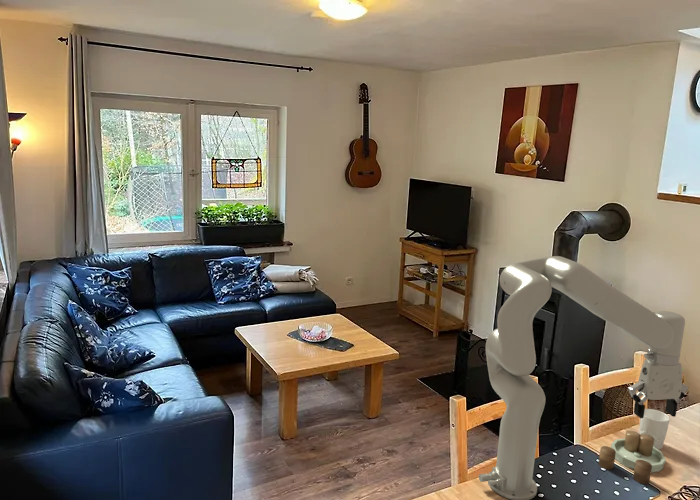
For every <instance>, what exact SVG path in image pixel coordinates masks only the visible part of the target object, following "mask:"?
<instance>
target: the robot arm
mask: <svg viewBox="0 0 700 500" xmlns="http://www.w3.org/2000/svg"><path fill="white" fill-rule="evenodd" d="M499 286H500V288H502V290H503V291H504V293H506V294H507V295H509V296H508V297H507V299H506V300H505V301H504V302H503V305H502V306H501V307H500V309H499V311H498V313H497V319H496V322H497V325H496V326H497V328H495V329H494V330H492V331H491V332H490V334H489V335H488V336H487V338H486V342H485V356H486V364H487V371H488V378H489V382H490V385H491V387H492V389H493V390H494V392H495V393H496V394H497V395H498V396H499V398H500V399H501V400H502V401H503V402H504V403H505V405H506V407H505V408H506V409H505V411H504V413H503V414H502V416H501V420H500V426H499V435H498V436H499V437H498V443H497V444H498V446H497V453H496V463H495V466H493V467H492V468H491V469H492V470H491V471H489V472H488V473H479V475H478V480H479V482H480V483H484V482H487V484H488V486H489V487H490V488H491V489H492V491H494V492H495V493H496V494H498V495H500V496H501V497H503V498H505V499H509V500H532V499H533V498H535V496H537V493H538V485H537V483H536V481H535V480H534V479H533V477H534V475H533V474H534V469H535V468H534V467H535V459H536V452H537V443H538V442H537V441H538V432H539V427H540V422H541V417H542V415H543V412H544V409H545V405H546V395H545V392H544V389H543V388H542V387H541V385H540V384H539V383H538V382H537V381H536V380H534V378H532V377H531V376H530V374H531V373H532V372H533V371H534V370H535V367H536V364H537V357H536V356H537V355H536V350H535V349H536V348H535V340H534V339H535V338H534V331H533V328H534V327H533V321H534V319H535V316H536V314H538V312H539V310H541V309H542V308H543V307H544V306H545V304H546V303H547V302H548V301H549V300H550V298H551V295H552V292H553V291H552V288H553V289H556V290H557V291H559V292H561V293H562V294H564V295H565V296H567V297H568V298H570V299H571V300H573V301H574V302H576V303H577V304H579V305H581V306H582V307H583V308H585V309H587V310H588V311H589V312H591V313H592V314H593V315H595V316H597V317H599V318H600V319H602V320H603V321H605V322H607V323H609V324H612V325H614V326H617V327H619V329H620V330H621V332H622V333H623V334H624V335H626V336H627V337H629V338H631V339H633V340H635V341H637V342H639V343H641V344H643V345H645V346H646V347H648V348H647V352H646V353H644V355H643V357H644V358H645V359H644V361H643V362H642V363H643V364H642V366H641V369H640V373H639V377H638V382H636V383H634V384H632V385H630V386H629V387H627V390H628V392H629V396H630V398H632V400H633V401H634V407H633V413H634V415H635V416H637V417H638V418H639V419H640V418H643V417H644V411H645V409H646V405H645V404H644V403H646V402H647V401H648V400H649V401H650V400H651V401H657V400H659V401H663V400H665V401H666V405H665V412H666V413H667V415H670V416H671V417H673V418H675V417H676V416H677V409H678V404H680V403H681V400H682V399H683V398H684V397H685V395H686V393H687V392H688V390H689V386H688V385H687V384H684V383H683V369H682V363H680V356H681V352H682V351H681V350H682V345H683V338H684V332H685V331H684V330H685V325H686V320H685V317H684V316H683V315H681V314H680V313H678V312H674V311H667V310H660V311H652V310H650V309H649V308H647V307H645V306H643V304H640V303H639V302H638V301H636V300H634V299H633V298H631V297H630V296H629V295H627V294H625V293H623V291H621V290H619V289H618V288H616V287H614V286H613V285H612V284H610V283H609V282H607V281H605V279H602V278H601V277H600V276H598V275H597V274H596V273H594V272H593V271H592V270H590V269H589V268H587V267H586V266H585V265H583V264H581V263H579V262H576V261H574V260H572V259H569V258H566V257H564V256H559V255H554V256H553V255H552V256H545V257H540V258H536V259H530V260H525V261H520V262H515V263H512V264H509V265H508V266H507V267H504V269H502V272H501V273H500V275H499Z"/></svg>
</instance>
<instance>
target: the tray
mask: <svg viewBox="0 0 700 500" xmlns="http://www.w3.org/2000/svg"><path fill="white" fill-rule="evenodd" d="M653 444H654V438H653V437H651V436H649V435H646V434H639V432H637V431H634V430H626V431H625V436H624V438H617V439H614V441H612V442H611V444H610V447H611V448H613V449H614V450H615V451H616V454H615V461H617V462H618V463H620V464H621V465H622V466H625V467H626V468H628V469H631V470H634V469H635V463H636V460H644V461H647V462H649V463H650V464H651V465H652V469H651V474H652V473H659V472H661V471H662V470H663V469H664V466H665V464H666V457H665V455H664V453H663V452H662V451H661V450H660V449H656V448H655V447H654V446H653Z"/></svg>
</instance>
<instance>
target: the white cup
mask: <svg viewBox="0 0 700 500" xmlns="http://www.w3.org/2000/svg"><path fill="white" fill-rule="evenodd" d="M670 421H671V420H670V416H669V414H666V413H665V412H663V411H661V410H657V409H653V408H645V411H644V417H643V418H639V427H638V429H639V430H638V433H639V434H646V435H649V436H651V437H653V438H654V444H653V446H654V447H655V448H656V449H658V450H660V449H663V446H664V443H665V440H666V436H667V432H668V429H669V428H668V427H669V424H670Z"/></svg>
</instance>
